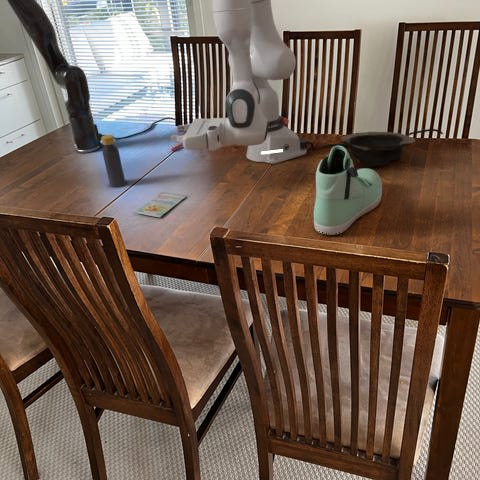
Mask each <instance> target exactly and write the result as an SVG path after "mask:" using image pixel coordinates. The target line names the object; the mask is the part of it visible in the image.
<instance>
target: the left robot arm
mask: <svg viewBox="0 0 480 480" xmlns="http://www.w3.org/2000/svg"><path fill="white" fill-rule="evenodd" d="M6 1H7V3H8V5H9V6H10V7H11V10H12V11H13V12H14V14H15V16H16V18H17V19H18V21H19V23H20V24H21V26H22V27H23V29H24V31H25V33H26V34H27V35H28V37H29V38H30V40H31V42H32V43H33V45H34V46H35V48H36V49H37V51H38V52H39V54H40V55H41V57H42V59H43V60H44V62H45V64H46V65H47V67H48V70H49V72H50V73H51V76H52V78H53V80H54V82H55V83H56V85H58V86H59V88H60V89H63V90H65V91H66V96H67V100H65V102H64V106H65V110H66V114H67V115H66V116H67V118H68V122H69V126H70V130H71V133H72V137H73V145H74V147H75V150H76V152H77V153H80V154H87V153H92V152H96V151H97V150H99V149H100V148H102V138H101V137H102V136H104V135H105V134H102V133H100V132H99V129H98V125H97V123H95V121H94V116H93V113H92V108H91V104H90V102H91V101H90V100H91V94H90V89H89V84H88V78H87V75H86V73H85V71H84V70H83V69H82V68H81V67H79V66H77V65H72V64H70V63H69V61H67V59H66V58H65V56H64V55H63V53H62V51H61V49H60V46H59V43H58V37H57V33H56V30H55V27H54V25H53V23H52V21H51V19H50V18H49V16H48V14H47V13H46V11H45V10H44V9H43V7H42V6H41V5H40V4H39V3H38V2H37V0H6ZM165 120H172V121H176V120H177V119H176V118H173V117H170V116H169V117H168V116H167V117H164V118H161V119H158V120H157V121H154V122H152V123H151V125H150V126H149V127H148V128H147V129H145V130H142V131H139V132H136V133H133V134H129V135H126V136H123V137H121V136H120V137H115V136H113V138H114V140H123V139H129V138H131V137H135V136H138V135H141V134H144V133H146V132H148V131H150V130H151V129H152V128H153V126H154V125H156V124H158V123H160V122H162V121H165Z"/></svg>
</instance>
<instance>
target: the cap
mask: <svg viewBox="0 0 480 480" xmlns="http://www.w3.org/2000/svg"><path fill="white" fill-rule="evenodd" d="M103 135H104V136H102V137H101V138H102V140H101V144H102V145H104V146H105V145H111V144H113V145H114V144H115V139H114V138H113V137H114V135H113V134H103Z"/></svg>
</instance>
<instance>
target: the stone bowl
mask: <svg viewBox="0 0 480 480" xmlns="http://www.w3.org/2000/svg"><path fill="white" fill-rule="evenodd" d="M340 139H341V140H340V143H339V144H346V145H349V146H350V147H349V152H350V154H351V155H352V157H353V158H354V159H356V160H358V162H359V166H361V167H364V168H367V167H368V168H377V167H386V166H388V165H389V164H390V162H398V161H400V160H401V157H402V153H403V148H404V147H408V146H410V145H412V144H414V143H415V142H416V139H415V138H413V137H411V136H410V135H409V136H407V135H406V134H403V133H399V132H392V131H364V132H355V133H350V134H346V135H343V136H342V137H341V138H340Z"/></svg>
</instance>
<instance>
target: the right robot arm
mask: <svg viewBox="0 0 480 480" xmlns="http://www.w3.org/2000/svg"><path fill="white" fill-rule="evenodd" d="M271 1H272V0H211V6H212V16H213V21H214V26H215V31H216V34H217V37H218V39H219V40H220V41H221V42H222V43H223V44H224V46H225V48H226V49H227V52H228V65H229V68H230V70H231V75H232V86H231V89H230V91H229V92H228V94H227V96H226V97H225V102H224V107H225V111H226V116H227V117H212V118H203V117H202V118H195V119H193V121H192V122H191V123H186V124H184V125H183V124H181V125H180V124H179V125H178V126H177V132H178V133H183V132H185V133H184V134H181V135H178V134H172V135H171V136H170V141H171V142H172V143H179V144H181V143H183V146H182V147H183V148H184V149H185V150H189V151H191V150H192V151H205V150H208V151H209V152H215V151H217V150H218V149H220V148H223V147H231V146H238V147H247V150H246V154H245V157H246V158H247V159H248V160H250V161H253V162H256V163H257V162H258V163H267V164H272V165H273V164H278V163H282V162H285V161H287V160H292V159H295V158H298V157H302V156H304V155H307V153H308V152H307V151H308V150H307V148H308V145H310V148H311V149H312V150H320V149H324V148H328V147H334V146H342V147H349V148H350V146H349V145H346V144H343V143H328V144H325V145H322V146H320V147H314V143H313V142H312V141H307V140H306V139H305V137H299V136H298V134H297V133H296V132H294V131H293V130H291V129H290V128H289V127H288V126H287V125H289V122H290V120H289V119H288V118H287V117H284V116H281V115H280V104H279V103H280V102H279V94H278V92H277V91H276V90H275V89H274V88H273V87H272V86H271V85H270V82H269V81H281V80H282V81H283V80H287V79H289V78H290V77H291V76H292V75H293V73H294V71H295V69H296V64H297V63H296V56H295V53H294V51H293V50H292V49H291V48H290V47H288V46H287V45H286V43H285V42H284V40H283V39H282V37H281V36H280V34H279V31H278V29H277V27H276V24H275V21H274V14H273V8H272V2H271ZM428 132H436V133H439V134H440V135H444V133H443V131H441V130H440V129H437V128H428V129H422V130H416V131H412V132H409V133H406V134H405V135H407V136H409V137H410V136H411V135H415V134H421V133H428Z"/></svg>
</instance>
